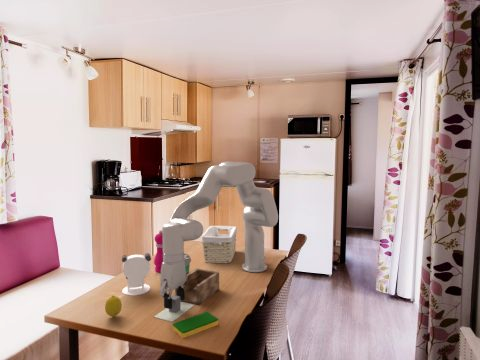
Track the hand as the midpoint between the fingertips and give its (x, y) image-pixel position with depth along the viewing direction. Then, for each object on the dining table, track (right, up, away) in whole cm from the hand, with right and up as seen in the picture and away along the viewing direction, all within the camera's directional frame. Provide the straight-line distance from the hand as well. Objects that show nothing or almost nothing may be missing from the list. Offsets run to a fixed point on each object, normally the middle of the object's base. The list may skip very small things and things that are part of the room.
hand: (174, 303), depth 129 cm
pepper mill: (-14, +1, +42) cm, 45 cm away
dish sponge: (+9, -5, -11) cm, 15 cm away
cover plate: (0, -3, 0) cm, 4 cm away
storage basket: (+13, +3, +63) cm, 64 cm away
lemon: (-21, -4, -4) cm, 22 cm away
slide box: (+7, -1, +15) cm, 16 cm away
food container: (-2, 0, +32) cm, 32 cm away
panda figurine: (-20, -1, +20) cm, 28 cm away
